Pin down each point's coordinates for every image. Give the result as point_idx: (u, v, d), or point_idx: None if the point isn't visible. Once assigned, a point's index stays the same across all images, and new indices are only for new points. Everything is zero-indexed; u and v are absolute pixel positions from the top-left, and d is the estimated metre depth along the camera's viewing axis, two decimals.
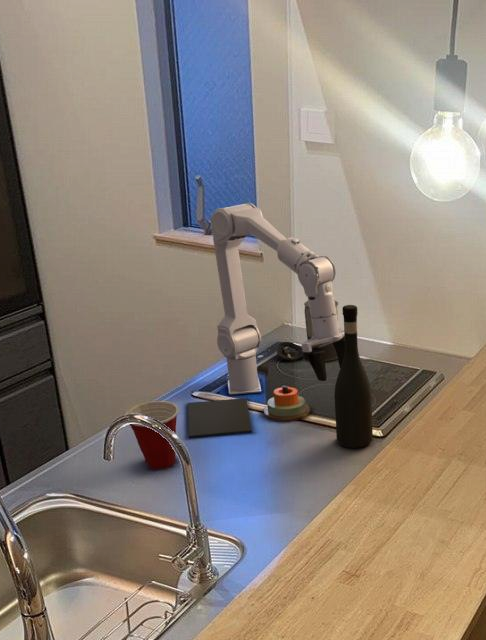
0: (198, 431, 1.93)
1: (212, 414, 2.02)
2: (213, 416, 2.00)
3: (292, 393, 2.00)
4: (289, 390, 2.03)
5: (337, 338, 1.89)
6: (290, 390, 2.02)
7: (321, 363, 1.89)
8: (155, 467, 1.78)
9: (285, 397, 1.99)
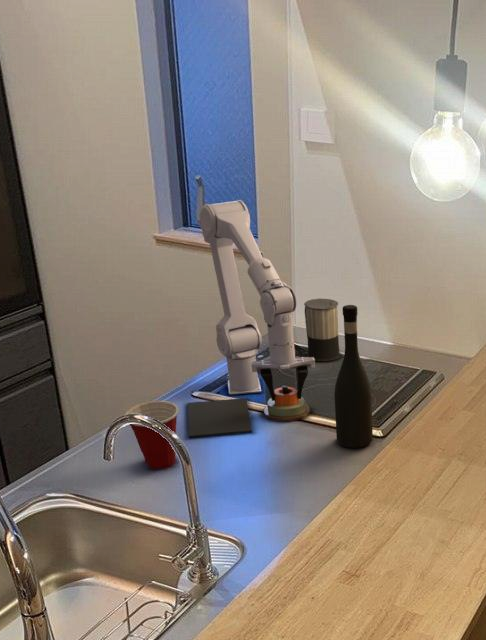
0: (198, 431, 1.93)
1: (212, 414, 2.02)
2: (213, 416, 2.00)
3: (292, 393, 2.00)
4: (289, 390, 2.03)
5: (281, 368, 1.94)
6: (290, 390, 2.02)
7: (267, 385, 1.98)
8: (155, 467, 1.78)
9: (285, 397, 1.99)
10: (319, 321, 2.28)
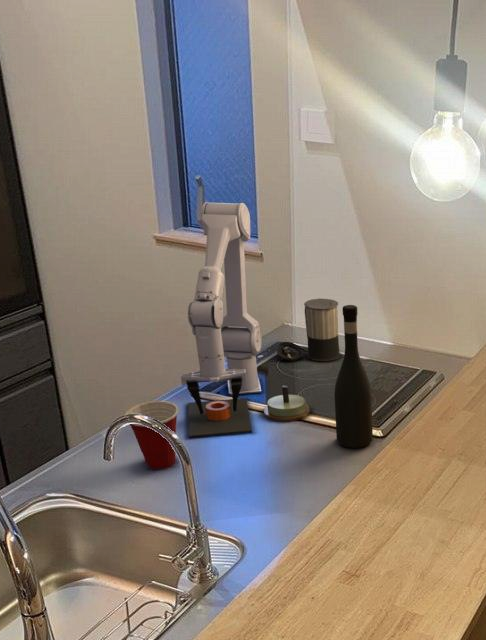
0: (198, 431, 1.93)
1: None
2: None
3: (224, 408, 1.98)
4: (222, 404, 2.01)
5: (210, 380, 1.92)
6: (223, 404, 2.01)
7: (194, 398, 1.95)
8: (155, 467, 1.78)
9: (216, 412, 1.97)
10: (319, 321, 2.28)
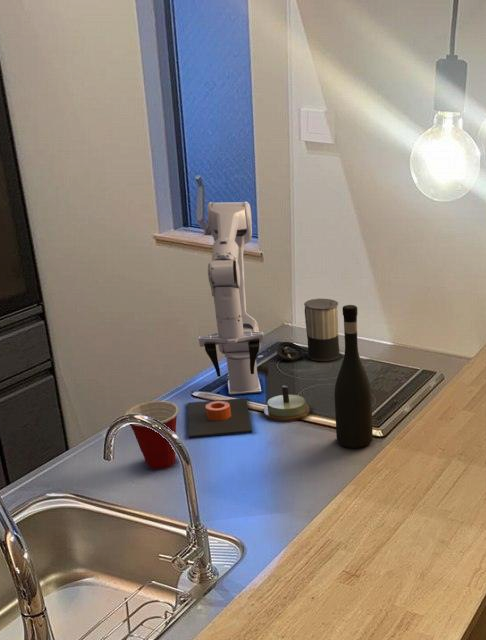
0: (198, 431, 1.93)
1: None
2: None
3: (224, 408, 1.98)
4: (222, 404, 2.01)
5: (228, 342, 1.91)
6: (223, 404, 2.01)
7: (212, 360, 1.95)
8: (155, 467, 1.78)
9: (216, 412, 1.97)
10: (319, 321, 2.28)
